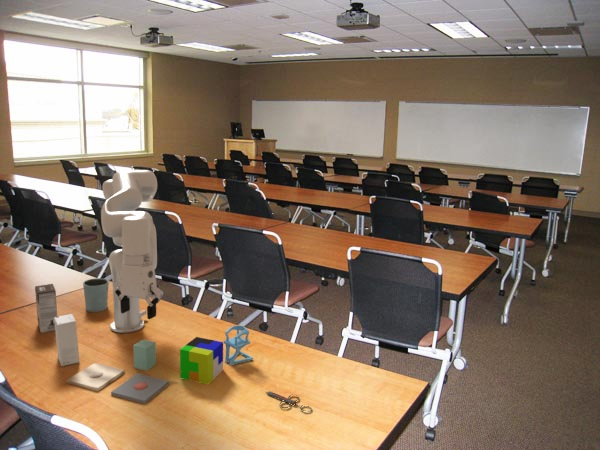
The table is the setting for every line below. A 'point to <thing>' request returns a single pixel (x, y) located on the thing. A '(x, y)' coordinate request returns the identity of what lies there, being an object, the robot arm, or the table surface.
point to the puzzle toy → (201, 360)
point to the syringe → (283, 399)
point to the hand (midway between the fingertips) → (138, 314)
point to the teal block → (144, 354)
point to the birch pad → (95, 376)
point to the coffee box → (46, 307)
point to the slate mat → (140, 388)
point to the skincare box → (66, 339)
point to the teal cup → (96, 294)
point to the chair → (237, 344)
